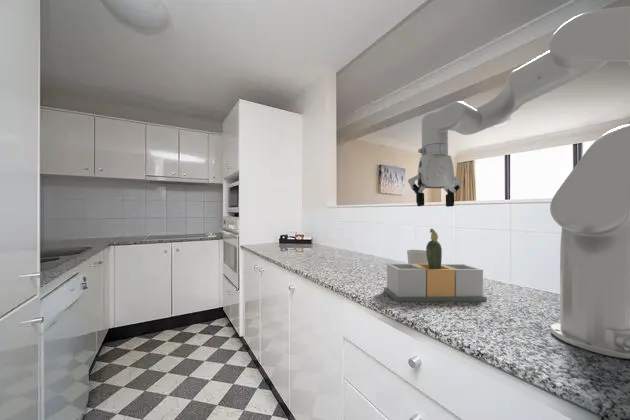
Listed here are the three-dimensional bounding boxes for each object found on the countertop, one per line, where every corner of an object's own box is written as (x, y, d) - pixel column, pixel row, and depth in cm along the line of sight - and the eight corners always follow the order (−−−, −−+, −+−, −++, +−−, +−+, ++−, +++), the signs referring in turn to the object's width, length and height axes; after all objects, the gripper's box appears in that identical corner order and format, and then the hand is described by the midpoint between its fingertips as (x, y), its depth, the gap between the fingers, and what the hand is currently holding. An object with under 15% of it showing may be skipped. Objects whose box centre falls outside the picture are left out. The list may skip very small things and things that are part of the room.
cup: (425, 280, 96) (425, 250, 96) (432, 286, 88) (433, 253, 88) (404, 279, 97) (404, 249, 97) (410, 285, 89) (410, 252, 89)
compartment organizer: (486, 301, 73) (486, 270, 73) (396, 301, 71) (396, 269, 71) (463, 290, 83) (463, 263, 83) (383, 291, 81) (384, 263, 81)
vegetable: (444, 294, 75) (444, 229, 75) (429, 294, 75) (430, 229, 75) (437, 290, 79) (437, 228, 79) (423, 289, 79) (424, 228, 79)
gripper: (414, 148, 74) (414, 205, 73) (468, 150, 75) (469, 205, 74) (403, 155, 81) (403, 206, 80) (452, 156, 83) (453, 207, 82)
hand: (435, 206), depth 77 cm, fingers open, 9 cm apart
